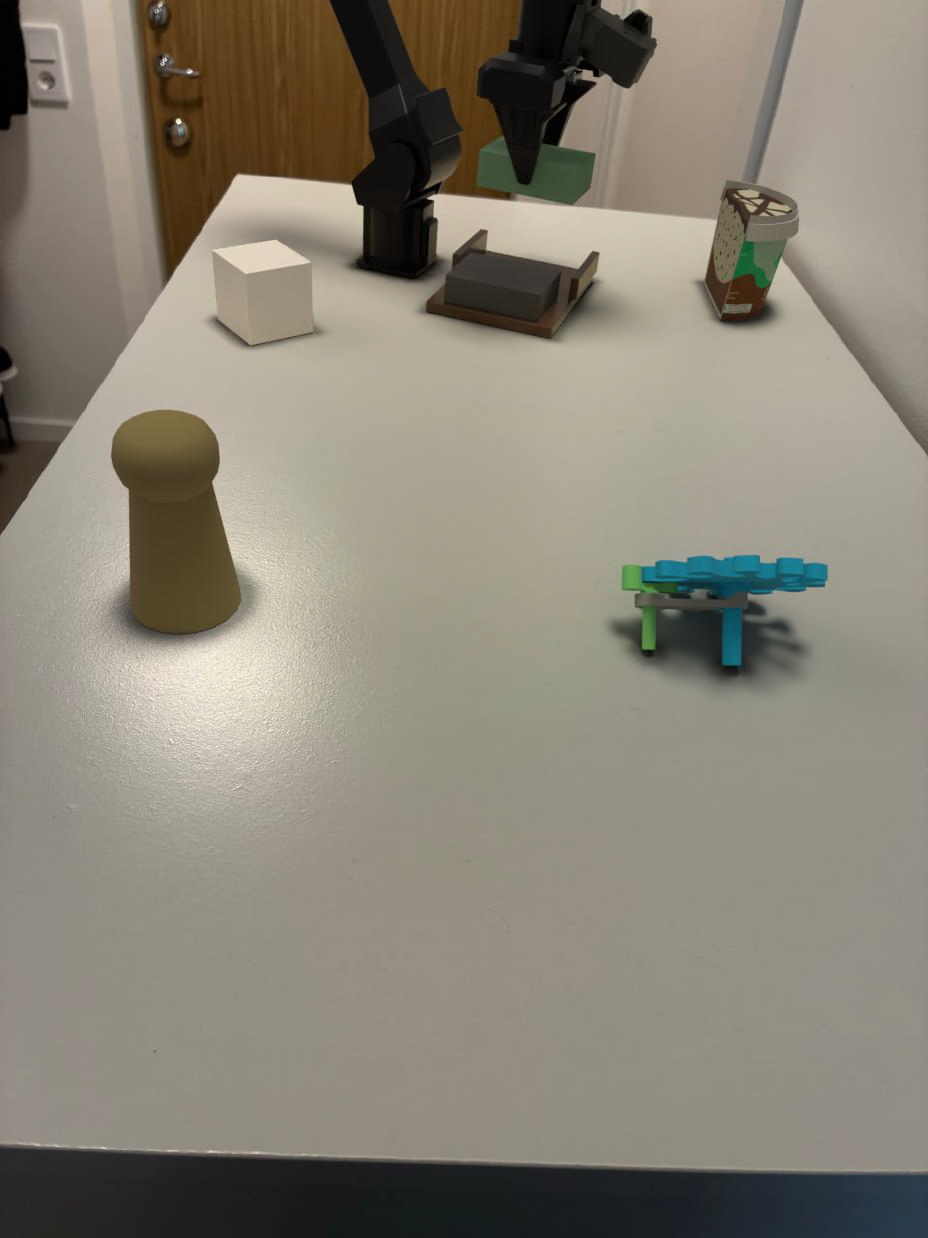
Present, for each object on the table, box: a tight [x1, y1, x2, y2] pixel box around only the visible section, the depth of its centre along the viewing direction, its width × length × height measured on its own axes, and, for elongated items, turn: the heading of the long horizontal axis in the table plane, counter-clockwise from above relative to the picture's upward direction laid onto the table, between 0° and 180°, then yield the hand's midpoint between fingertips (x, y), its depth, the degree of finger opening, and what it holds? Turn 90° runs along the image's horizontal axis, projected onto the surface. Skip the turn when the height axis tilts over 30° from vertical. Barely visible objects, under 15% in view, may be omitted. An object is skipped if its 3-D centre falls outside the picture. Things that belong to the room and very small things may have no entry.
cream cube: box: [211, 239, 314, 346], centre depth 80 cm, size 6×6×6 cm
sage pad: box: [476, 135, 597, 206], centre depth 85 cm, size 6×9×3 cm, turn 69°
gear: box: [621, 554, 829, 667], centre depth 52 cm, size 11×6×10 cm
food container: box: [703, 179, 800, 322], centre depth 92 cm, size 12×6×10 cm, turn 179°
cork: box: [110, 409, 242, 635], centre depth 50 cm, size 6×6×11 cm
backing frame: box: [425, 228, 601, 339], centre depth 91 cm, size 16×13×4 cm
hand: (534, 175), depth 85 cm, fingers closed on sage pad, 6 cm apart
